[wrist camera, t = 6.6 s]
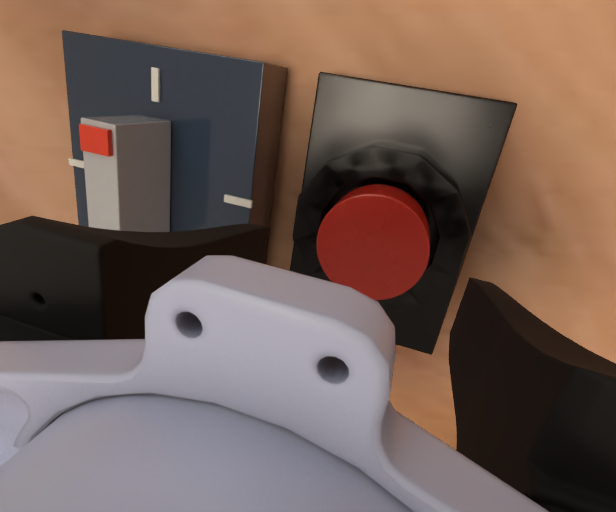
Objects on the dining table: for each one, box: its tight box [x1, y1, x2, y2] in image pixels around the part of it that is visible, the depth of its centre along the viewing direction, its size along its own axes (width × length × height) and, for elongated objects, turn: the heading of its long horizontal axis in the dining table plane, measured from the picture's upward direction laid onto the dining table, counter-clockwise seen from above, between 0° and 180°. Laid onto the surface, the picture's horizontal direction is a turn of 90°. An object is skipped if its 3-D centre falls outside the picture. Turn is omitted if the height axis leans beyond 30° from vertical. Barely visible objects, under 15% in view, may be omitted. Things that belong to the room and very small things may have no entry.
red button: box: [316, 184, 430, 300], centre depth 16 cm, size 4×4×2 cm
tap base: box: [62, 30, 288, 232], centre depth 21 cm, size 12×10×3 cm
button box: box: [290, 72, 517, 354], centre depth 18 cm, size 12×8×4 cm, turn 171°
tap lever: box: [79, 115, 171, 232], centre depth 18 cm, size 6×2×4 cm, turn 171°
